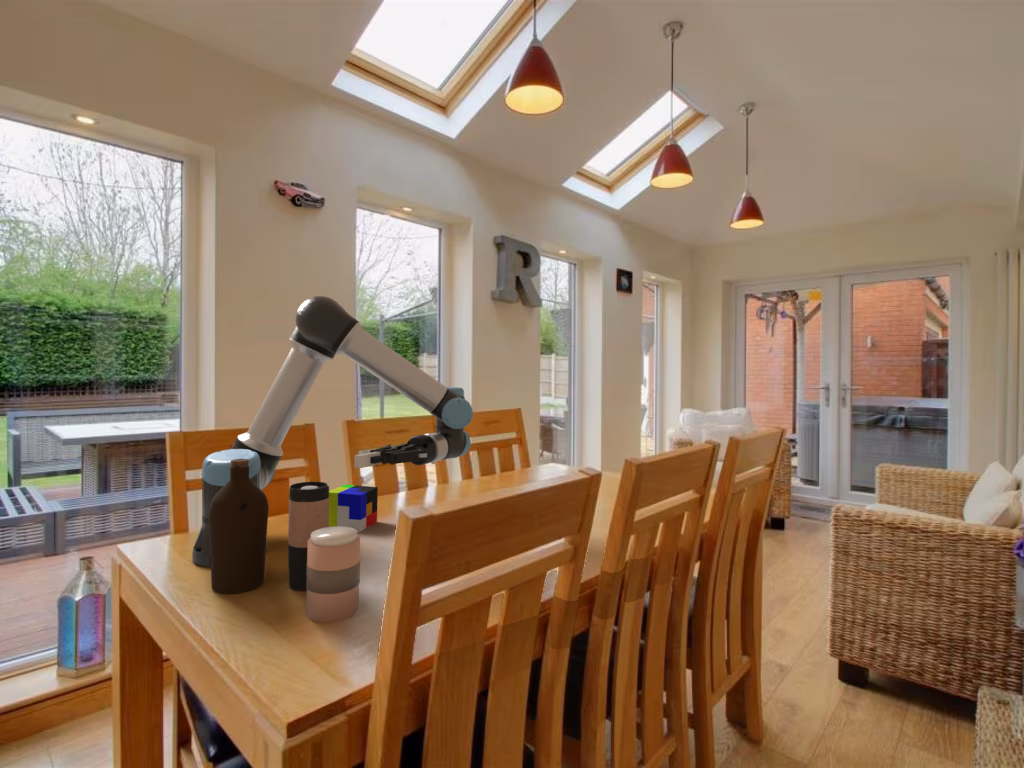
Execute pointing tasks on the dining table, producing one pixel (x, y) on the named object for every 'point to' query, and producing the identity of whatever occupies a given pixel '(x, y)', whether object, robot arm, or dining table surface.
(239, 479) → the olive oil
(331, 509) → the puzzle toy
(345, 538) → the terracotta canister
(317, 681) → the dining table surface
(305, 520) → the travel mug
